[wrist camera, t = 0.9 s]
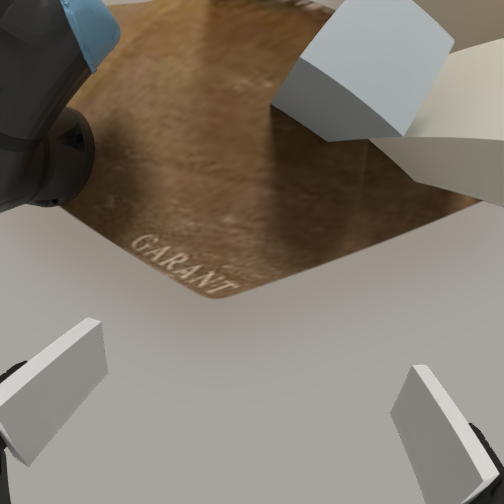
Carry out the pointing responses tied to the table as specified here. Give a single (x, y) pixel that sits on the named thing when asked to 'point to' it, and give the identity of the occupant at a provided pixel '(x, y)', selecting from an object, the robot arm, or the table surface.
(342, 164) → the table surface
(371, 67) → the tall pale gray pillar
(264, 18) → the table surface
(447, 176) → the tall cream rectangular block
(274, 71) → the table surface
